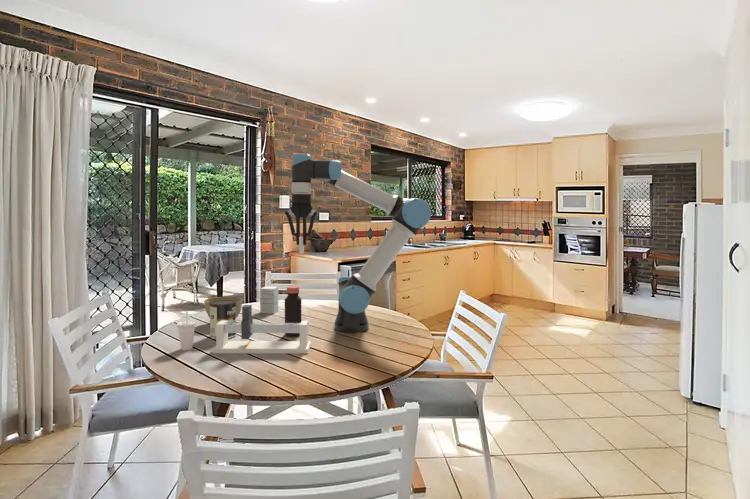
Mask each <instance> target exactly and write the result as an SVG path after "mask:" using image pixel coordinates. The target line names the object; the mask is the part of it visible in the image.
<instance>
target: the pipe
mask: <svg viewBox="0 0 750 499" xmlns="http://www.w3.org/2000/svg"><path fill="white" fill-rule="evenodd" d="M224 333H236V334H241V322H236V323H226V324H224ZM249 333H253V334H285V333H300V323H285V322H253V323H250V324H249Z"/></svg>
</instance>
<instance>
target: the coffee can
mask: <svg viewBox="0 0 750 499" xmlns="http://www.w3.org/2000/svg"><path fill="white" fill-rule="evenodd" d="M209 305H210V318H209V332H210V334H209V335H210V336H209V337H210V339H213V340H216V324H217V323H219V322H220V321H221V320H228V323H237V318H236V301H235V300H216V301H212V302H210V303H209ZM237 334H238V333H228V340H229V339H232V338H235V337H236V336H237Z"/></svg>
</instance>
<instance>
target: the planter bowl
mask: <svg viewBox="0 0 750 499" xmlns="http://www.w3.org/2000/svg"><path fill="white" fill-rule="evenodd" d="M216 300H235V301H236V319H238V316H239V315H240V313H241V312H242V307H243V298H241V297H236V296H235V297H234V296H217V297H212V298H206V299H205V300H204V305H205V312H206V315H207V317H208V318H209V319H210V305H209V303H210V302H212V301H216Z"/></svg>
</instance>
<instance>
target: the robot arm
mask: <svg viewBox="0 0 750 499" xmlns="http://www.w3.org/2000/svg"><path fill="white" fill-rule="evenodd" d="M312 180H320V181H322V182H323V183H327V184H329V185H331V186H332V187H335V188H337V189H339V190H342V191H343V192H345V193H348V194H349V195H352V196H353V197H355V198H357V199H360V200H362V201H364V202H366V203H368V204H370V205H372V206H374V207H376V208H378V209H380V210H382V211H384V212H385V213H386V215H387V216H389V217H391V218H392V219H391V221H392V225H391V227H390V228H389V230H388V231H387V233H386V234H384V235H385V236H384V237H383V238H382V239H381V241H380V242H379V243H378V245H377V247H376V248H375V250H374V251H373V253H371V255H370V256H369V258H368V259H367V260H366V262H365V263H364V264H363V265H362V267H361V269H360V270H359V271H358V272H356V273H353V274H352V275H351V276H340V277H339V278H338V282H337V283H338V284H337V285H338V310H337V315H336V317H335V321H334V324H333V325H334V327H333V328H334V329H335V330H336V331H339V332H344V333H361V332H364V331H367V330H369V321H368V316H367V314H366V309H367V308H368V307H369V305H370V301H371V298H372V297H373V296H374V295H375V293H376V292H377V284H378V282H380V280H381V279H382V277H383V275H384V274H385V273H386V271H387V270H388V268H389V267H390V266H391V264H393V261H394V260H395V258H396V257H397V256H398V255H399V254H400V252H401V250H402V249H403V248H404V246H405V245H406V243H407V242H408V240H410V238H414V237H416V236H417V234H418V233H419V232H420V231H421V228H423V227H425V226H426V225H427V224H428V222H430V221H431V220H430V219H431V216H432V210H431V208H430V205H429V204H428V203H427V202H426V200H424V199H422V198H418V197H411V198H405V197H402V196H400V195H398V194H395V195H392V194H390V193H389V192H387V191H384V190H382V189H380V188H378V187H376V186H374V185H372V184H370V183H368V182H366V181H365V180H362V179H360V178H358V177H357V176H354V175H352V174H349V173H348V172H345V171H344V170H342V162H341V161H340V160H335V159H331V160H330V159H329V160H327V159H326V160H325V159H312V156H311V155H310V154H308V153H295V154H293V155H292V156H291V193H292V194H291V206H290V209H288V210H286V211H284V214H285V216H286V217H287V220H288V224H289V227H290V228H289V229H290V234H291V235H292V236H294V237H296V240H295V243H296V245H297V246H298V253H299V255H301V254H305V246H306V245H307V237H309V236H311V235H312V232H313V228H314V224H315V219H316V218H317V215H318V214H319V213H318V211H315V210H314V209H313V207H312V195H311V193H312ZM292 215H294V217H295V220H296V222H295V226H294V221H293V217H292ZM309 215H311V217H310V222H309V226H308V227H307V224H308V222H307V218H308V216H309ZM301 218H302V236H301ZM295 228H296V229H295ZM307 228H308V229H307ZM360 331H361V332H360Z"/></svg>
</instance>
